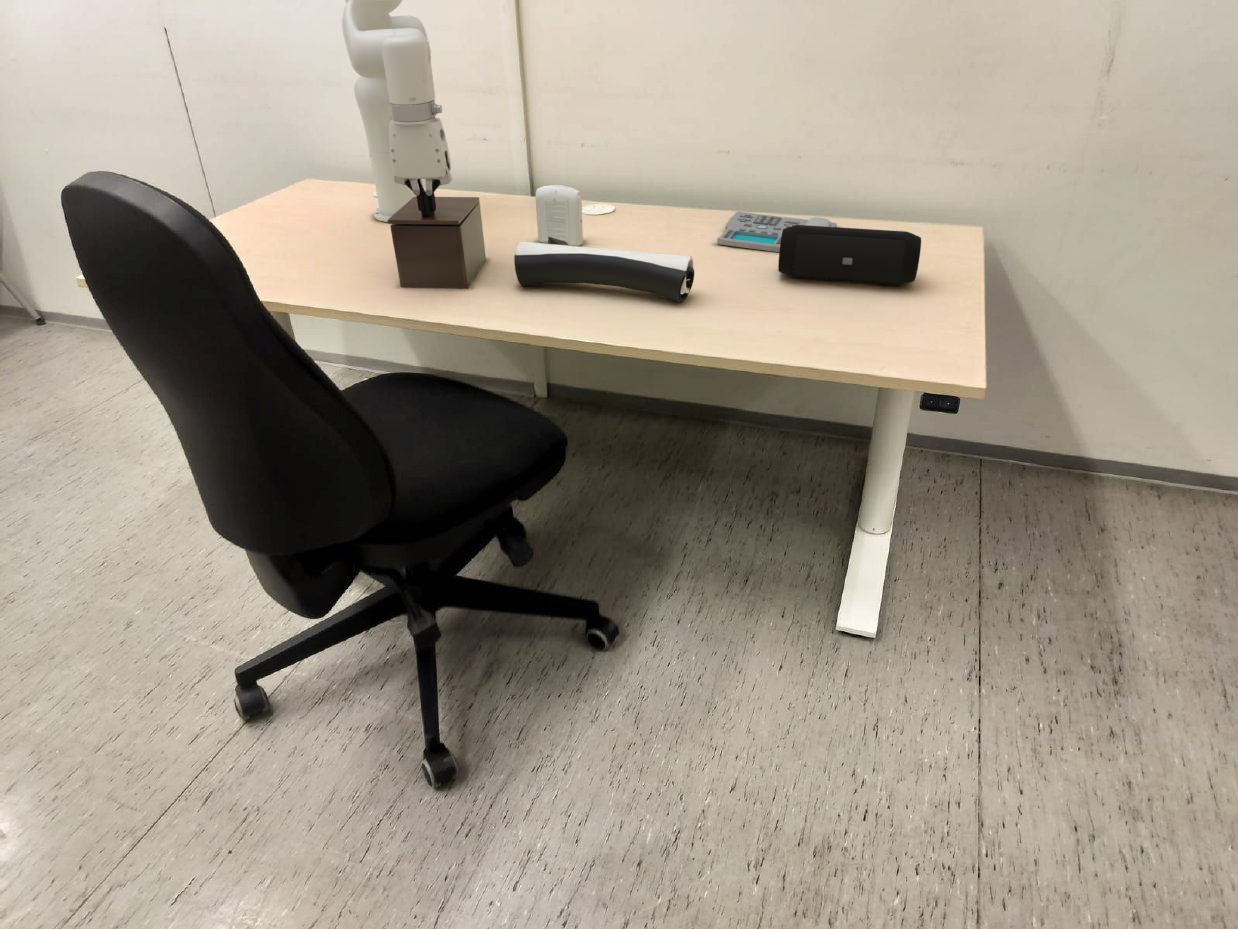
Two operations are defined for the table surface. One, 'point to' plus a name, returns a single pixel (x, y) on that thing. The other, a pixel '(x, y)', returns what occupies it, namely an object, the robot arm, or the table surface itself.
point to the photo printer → (559, 214)
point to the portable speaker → (849, 255)
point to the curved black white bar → (604, 268)
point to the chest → (440, 252)
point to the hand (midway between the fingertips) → (428, 214)
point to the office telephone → (762, 230)
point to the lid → (445, 214)
